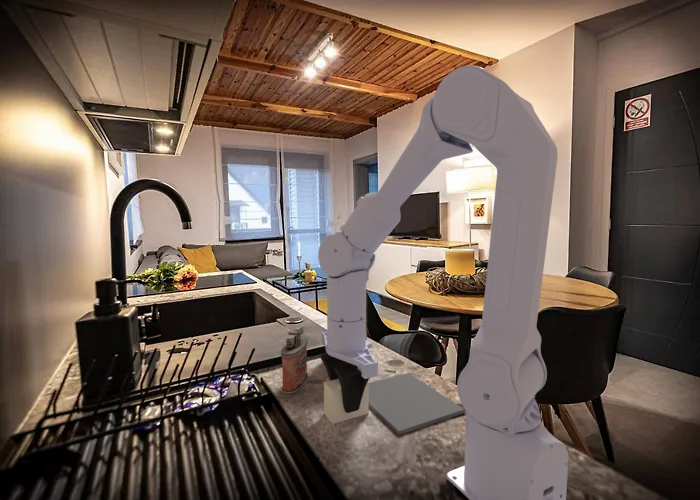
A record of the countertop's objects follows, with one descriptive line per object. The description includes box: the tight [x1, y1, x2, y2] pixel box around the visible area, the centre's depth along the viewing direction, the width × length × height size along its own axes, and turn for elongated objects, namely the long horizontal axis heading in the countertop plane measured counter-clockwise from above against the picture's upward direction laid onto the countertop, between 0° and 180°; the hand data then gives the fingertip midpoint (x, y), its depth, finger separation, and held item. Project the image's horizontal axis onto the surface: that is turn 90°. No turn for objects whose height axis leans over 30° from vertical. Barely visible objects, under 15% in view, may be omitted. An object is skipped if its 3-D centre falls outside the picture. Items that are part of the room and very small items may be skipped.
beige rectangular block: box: [323, 379, 370, 425], centre depth 53 cm, size 3×6×5 cm, turn 117°
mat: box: [369, 372, 465, 436], centre depth 57 cm, size 14×12×1 cm
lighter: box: [280, 325, 309, 398], centre depth 62 cm, size 8×3×10 cm, turn 168°
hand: (346, 404), depth 53 cm, fingers closed on beige rectangular block, 3 cm apart
